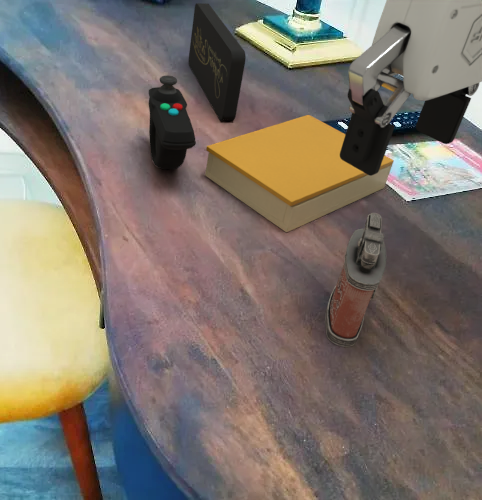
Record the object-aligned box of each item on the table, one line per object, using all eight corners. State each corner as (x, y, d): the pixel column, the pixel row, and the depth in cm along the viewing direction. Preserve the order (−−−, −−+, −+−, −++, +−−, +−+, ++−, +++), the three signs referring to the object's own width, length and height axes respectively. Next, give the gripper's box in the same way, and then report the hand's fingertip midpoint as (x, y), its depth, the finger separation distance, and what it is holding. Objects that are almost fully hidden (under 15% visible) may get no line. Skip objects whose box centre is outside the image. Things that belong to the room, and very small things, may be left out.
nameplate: (234, 123, 90) (246, 53, 84) (221, 123, 90) (232, 53, 84) (199, 63, 106) (207, 1, 100) (187, 63, 106) (195, 1, 100)
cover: (290, 206, 68) (291, 201, 68) (205, 150, 76) (206, 145, 76) (392, 164, 78) (394, 160, 77) (307, 118, 86) (308, 114, 85)
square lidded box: (286, 232, 71) (293, 207, 69) (204, 175, 79) (208, 151, 77) (384, 188, 80) (392, 164, 78) (301, 140, 88) (307, 118, 86)
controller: (173, 142, 85) (182, 69, 79) (192, 194, 75) (203, 116, 69) (141, 142, 84) (147, 68, 78) (156, 194, 75) (163, 116, 68)
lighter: (359, 351, 57) (394, 264, 51) (320, 340, 58) (351, 253, 52) (364, 294, 63) (396, 211, 57) (329, 285, 64) (357, 202, 58)
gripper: (465, -71, 33) (366, 205, 44) (609, -88, 42) (499, 146, 52) (349, -102, 38) (285, 156, 48) (502, -111, 46) (420, 108, 57)
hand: (397, 150), depth 50 cm, fingers open, 9 cm apart
